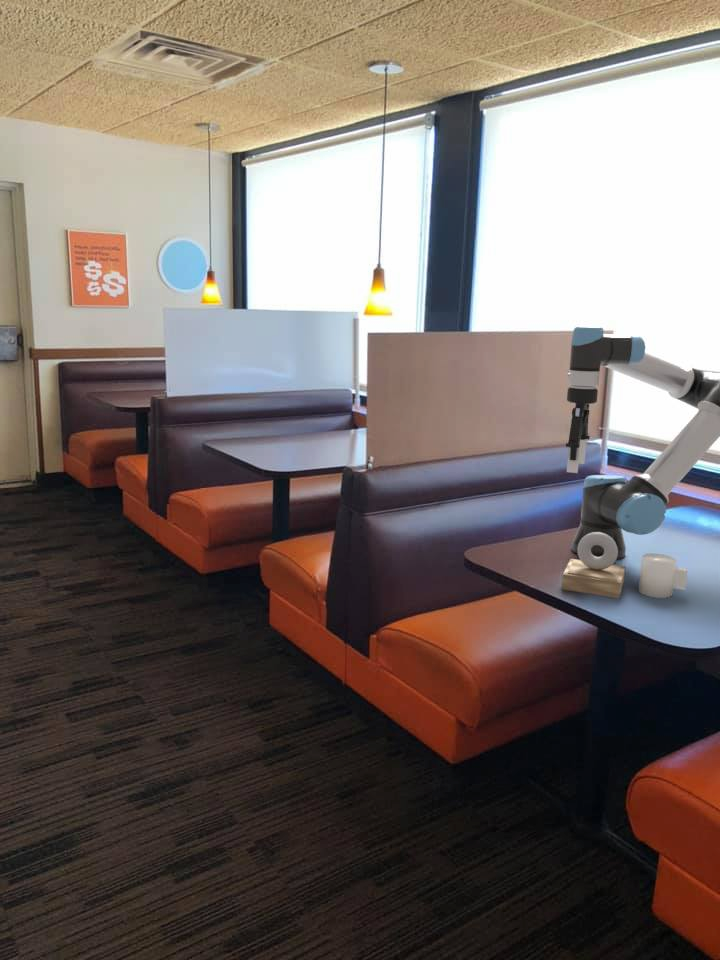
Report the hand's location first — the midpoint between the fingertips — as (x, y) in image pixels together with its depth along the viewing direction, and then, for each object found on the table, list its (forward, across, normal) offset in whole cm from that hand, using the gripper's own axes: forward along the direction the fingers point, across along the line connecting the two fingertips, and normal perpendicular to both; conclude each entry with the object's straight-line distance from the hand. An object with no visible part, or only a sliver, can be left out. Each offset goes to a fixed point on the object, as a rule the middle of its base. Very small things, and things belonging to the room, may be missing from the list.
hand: (575, 467), depth 201 cm
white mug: (+29, +6, +24) cm, 38 cm away
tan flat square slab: (+29, +8, +8) cm, 31 cm away
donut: (+25, +8, +8) cm, 27 cm away
